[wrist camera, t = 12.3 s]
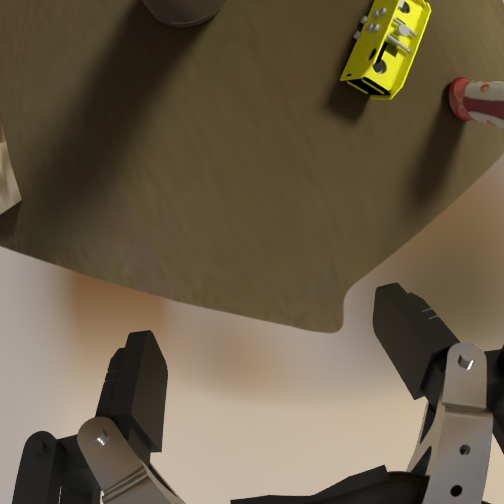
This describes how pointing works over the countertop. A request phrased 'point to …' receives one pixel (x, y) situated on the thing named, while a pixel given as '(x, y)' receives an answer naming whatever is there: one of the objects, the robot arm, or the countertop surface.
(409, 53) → the yellow toy chassis
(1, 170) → the plinth
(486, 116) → the liquor
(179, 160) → the countertop surface
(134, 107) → the countertop surface
